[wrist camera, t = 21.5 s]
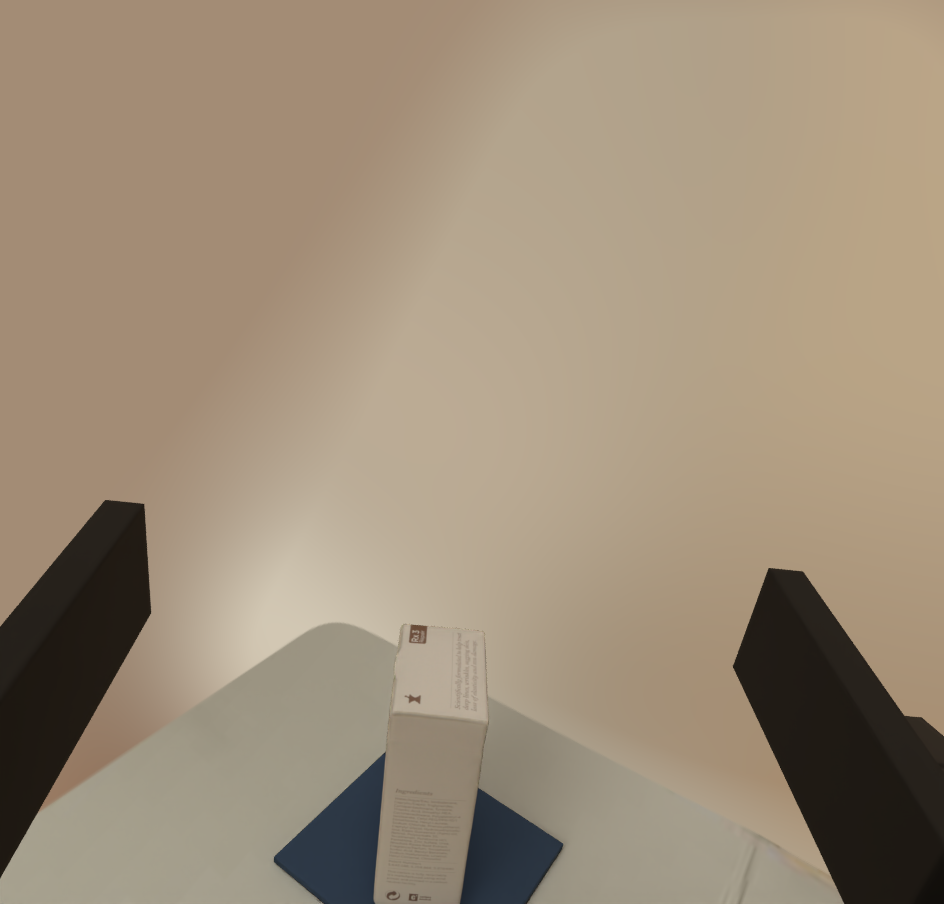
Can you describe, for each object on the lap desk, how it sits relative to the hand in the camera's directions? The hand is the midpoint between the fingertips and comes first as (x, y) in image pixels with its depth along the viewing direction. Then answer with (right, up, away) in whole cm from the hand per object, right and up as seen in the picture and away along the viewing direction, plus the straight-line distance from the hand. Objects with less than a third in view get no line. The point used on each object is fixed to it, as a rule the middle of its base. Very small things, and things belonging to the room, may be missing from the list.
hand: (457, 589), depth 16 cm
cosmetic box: (-3, -18, +23) cm, 29 cm away
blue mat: (-2, -18, +23) cm, 29 cm away
